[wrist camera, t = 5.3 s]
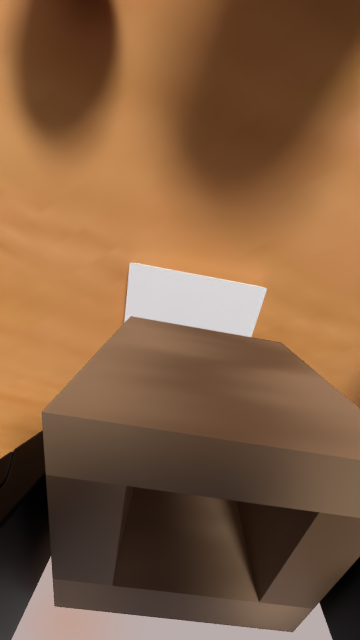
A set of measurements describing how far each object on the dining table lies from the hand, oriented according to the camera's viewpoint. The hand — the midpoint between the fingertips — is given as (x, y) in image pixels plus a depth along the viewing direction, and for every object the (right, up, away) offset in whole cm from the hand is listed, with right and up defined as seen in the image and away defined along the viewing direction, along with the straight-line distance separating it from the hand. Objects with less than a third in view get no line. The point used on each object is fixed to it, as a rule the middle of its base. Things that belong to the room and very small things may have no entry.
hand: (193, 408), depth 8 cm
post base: (0, +3, +8) cm, 9 cm away
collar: (0, 0, +1) cm, 1 cm away
